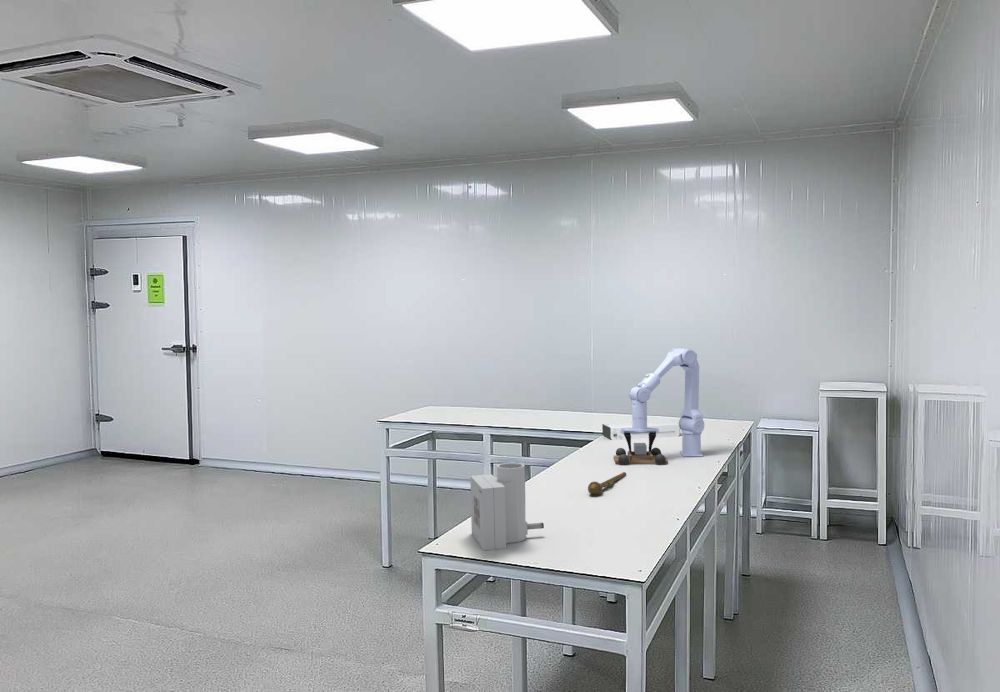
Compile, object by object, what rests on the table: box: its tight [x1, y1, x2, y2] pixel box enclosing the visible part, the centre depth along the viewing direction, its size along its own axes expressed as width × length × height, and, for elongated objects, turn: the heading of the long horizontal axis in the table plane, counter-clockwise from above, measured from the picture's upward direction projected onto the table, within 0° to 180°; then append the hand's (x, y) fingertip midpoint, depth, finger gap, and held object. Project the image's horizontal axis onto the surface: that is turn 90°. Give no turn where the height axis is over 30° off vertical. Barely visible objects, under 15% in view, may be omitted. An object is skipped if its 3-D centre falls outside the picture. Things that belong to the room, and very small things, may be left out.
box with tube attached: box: [469, 462, 545, 551], centre depth 221 cm, size 16×19×20 cm
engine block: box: [633, 442, 648, 456], centre depth 322 cm, size 6×4×6 cm
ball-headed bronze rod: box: [587, 471, 627, 497], centre depth 282 cm, size 5×35×5 cm
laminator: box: [601, 420, 681, 441], centre depth 380 cm, size 34×12×6 cm, turn 101°
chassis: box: [613, 447, 669, 466], centre depth 323 cm, size 15×20×4 cm
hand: (640, 451), depth 322 cm, fingers open, 7 cm apart
